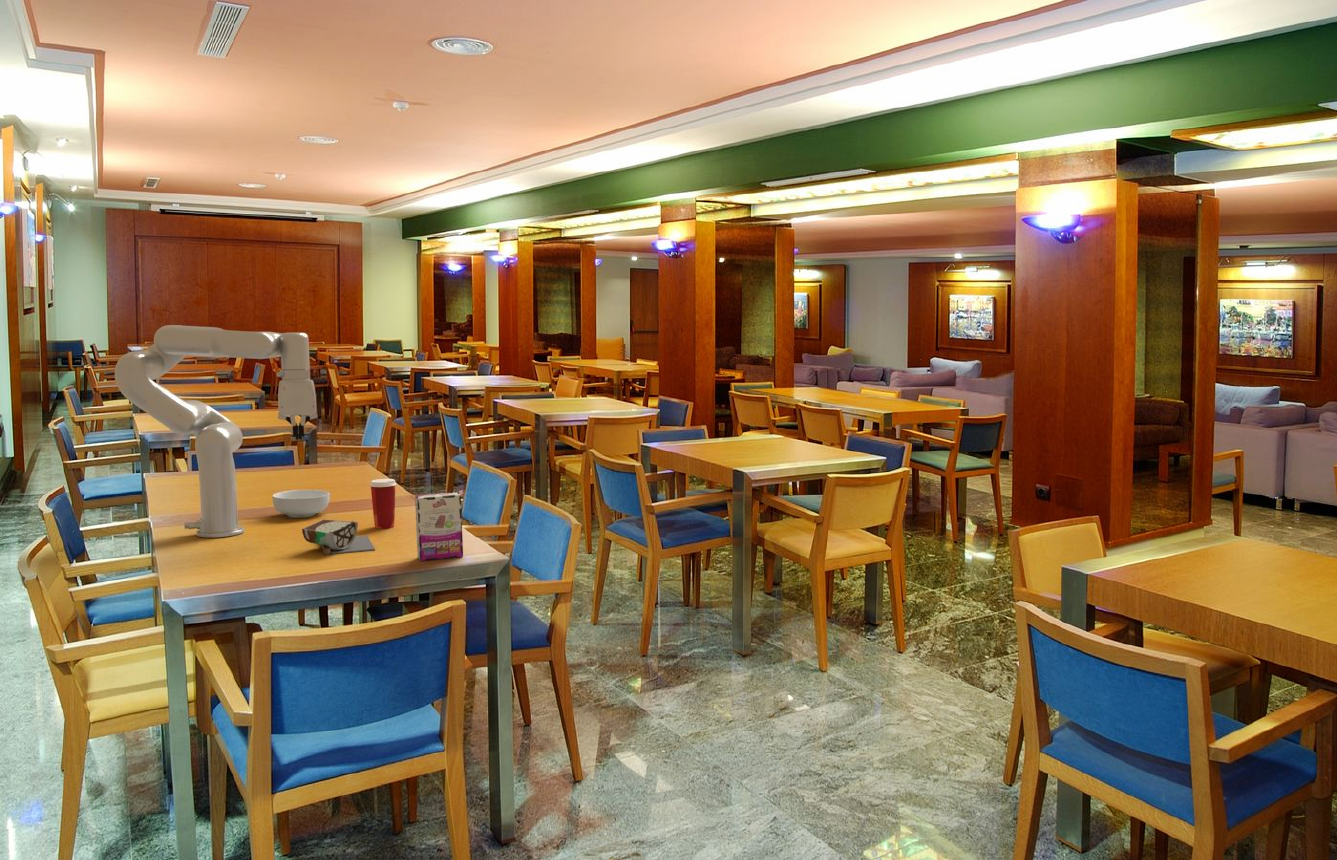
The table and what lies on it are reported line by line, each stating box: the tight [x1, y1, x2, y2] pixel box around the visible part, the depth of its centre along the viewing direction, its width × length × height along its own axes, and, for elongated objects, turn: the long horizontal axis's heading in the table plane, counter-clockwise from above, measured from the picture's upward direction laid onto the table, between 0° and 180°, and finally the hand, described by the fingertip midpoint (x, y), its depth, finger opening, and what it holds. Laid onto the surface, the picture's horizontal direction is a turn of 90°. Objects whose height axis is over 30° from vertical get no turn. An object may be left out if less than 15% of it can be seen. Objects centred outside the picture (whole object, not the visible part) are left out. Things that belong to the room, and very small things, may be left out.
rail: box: [320, 545, 331, 556], centre depth 263 cm, size 2×18×2 cm, turn 23°
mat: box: [330, 535, 376, 555], centre depth 266 cm, size 11×18×1 cm, turn 23°
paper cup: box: [369, 478, 397, 530], centre depth 290 cm, size 8×8×14 cm
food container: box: [301, 519, 359, 550], centre depth 260 cm, size 12×6×10 cm
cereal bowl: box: [271, 489, 331, 519], centre depth 308 cm, size 17×17×7 cm
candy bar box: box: [414, 492, 464, 562], centre depth 251 cm, size 11×5×16 cm, turn 114°
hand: (298, 439), depth 282 cm, fingers closed
